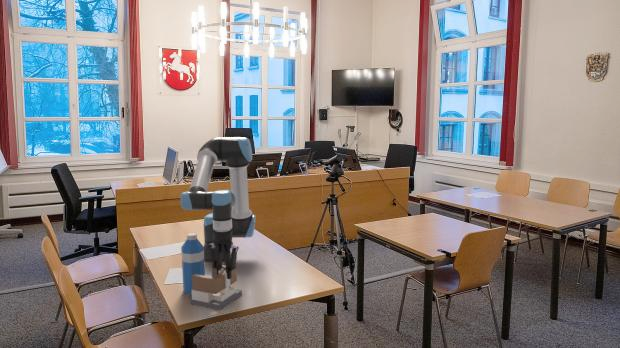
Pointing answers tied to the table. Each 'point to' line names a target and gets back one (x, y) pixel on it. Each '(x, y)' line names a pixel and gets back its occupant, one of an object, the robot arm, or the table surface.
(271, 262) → the table surface
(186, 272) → the water bottle
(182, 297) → the table surface
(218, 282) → the brown open crate
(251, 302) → the table surface
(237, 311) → the table surface
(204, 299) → the tray of white blocks
